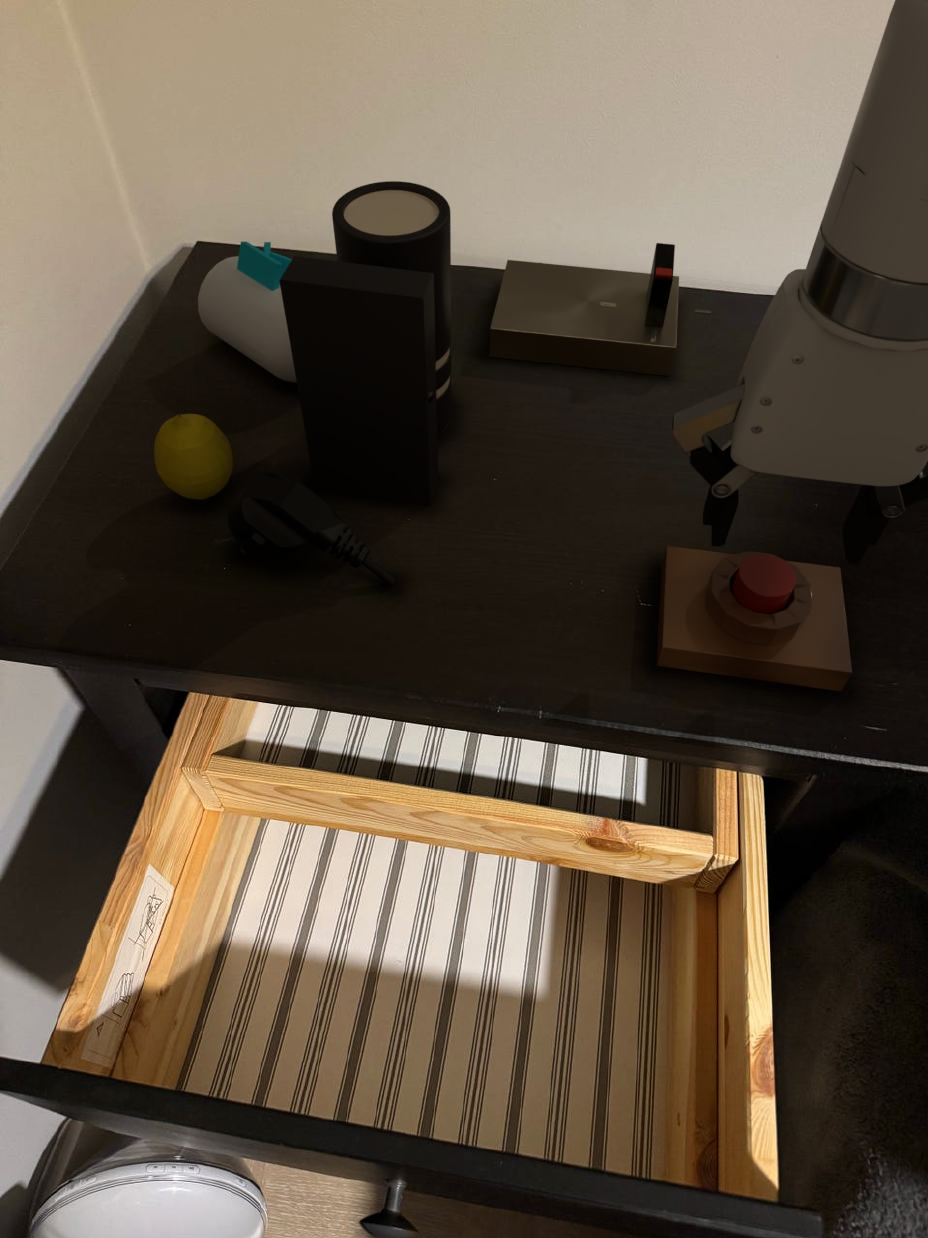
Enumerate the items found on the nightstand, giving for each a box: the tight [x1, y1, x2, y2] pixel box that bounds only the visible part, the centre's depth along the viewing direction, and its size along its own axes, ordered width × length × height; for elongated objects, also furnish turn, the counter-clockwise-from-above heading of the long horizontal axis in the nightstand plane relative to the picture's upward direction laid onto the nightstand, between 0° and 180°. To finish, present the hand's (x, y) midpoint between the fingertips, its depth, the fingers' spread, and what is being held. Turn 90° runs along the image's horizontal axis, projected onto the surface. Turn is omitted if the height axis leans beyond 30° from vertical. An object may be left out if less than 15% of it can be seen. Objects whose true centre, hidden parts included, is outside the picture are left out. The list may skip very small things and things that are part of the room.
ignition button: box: [733, 555, 796, 614], centre depth 59 cm, size 4×4×2 cm
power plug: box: [227, 472, 397, 587], centre depth 65 cm, size 6×8×12 cm
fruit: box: [153, 413, 234, 501], centre depth 67 cm, size 6×6×8 cm
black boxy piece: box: [645, 242, 676, 326], centre depth 78 cm, size 6×2×5 cm, turn 170°
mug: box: [197, 240, 297, 383], centre depth 79 cm, size 12×9×12 cm
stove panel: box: [488, 259, 712, 377], centre depth 82 cm, size 19×11×3 cm, turn 80°
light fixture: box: [279, 180, 453, 507], centre depth 67 cm, size 10×14×18 cm
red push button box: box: [656, 545, 853, 692], centre depth 61 cm, size 12×9×4 cm
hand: (783, 537), depth 55 cm, fingers open, 7 cm apart
